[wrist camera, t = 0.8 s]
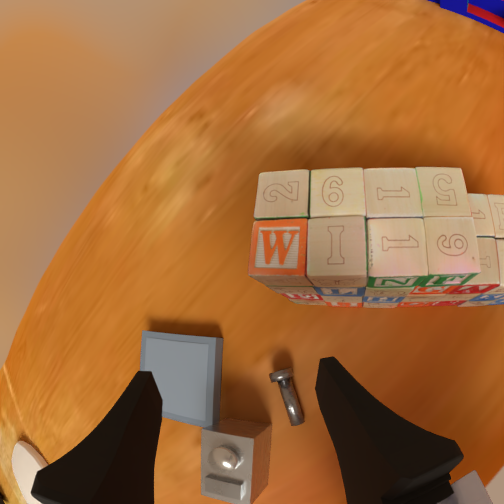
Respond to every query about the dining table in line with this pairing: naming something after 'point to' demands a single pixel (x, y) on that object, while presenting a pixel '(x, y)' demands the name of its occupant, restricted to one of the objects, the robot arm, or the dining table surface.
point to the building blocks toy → (478, 10)
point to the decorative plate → (26, 468)
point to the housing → (235, 460)
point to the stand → (185, 375)
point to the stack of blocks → (378, 238)
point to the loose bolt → (288, 395)
